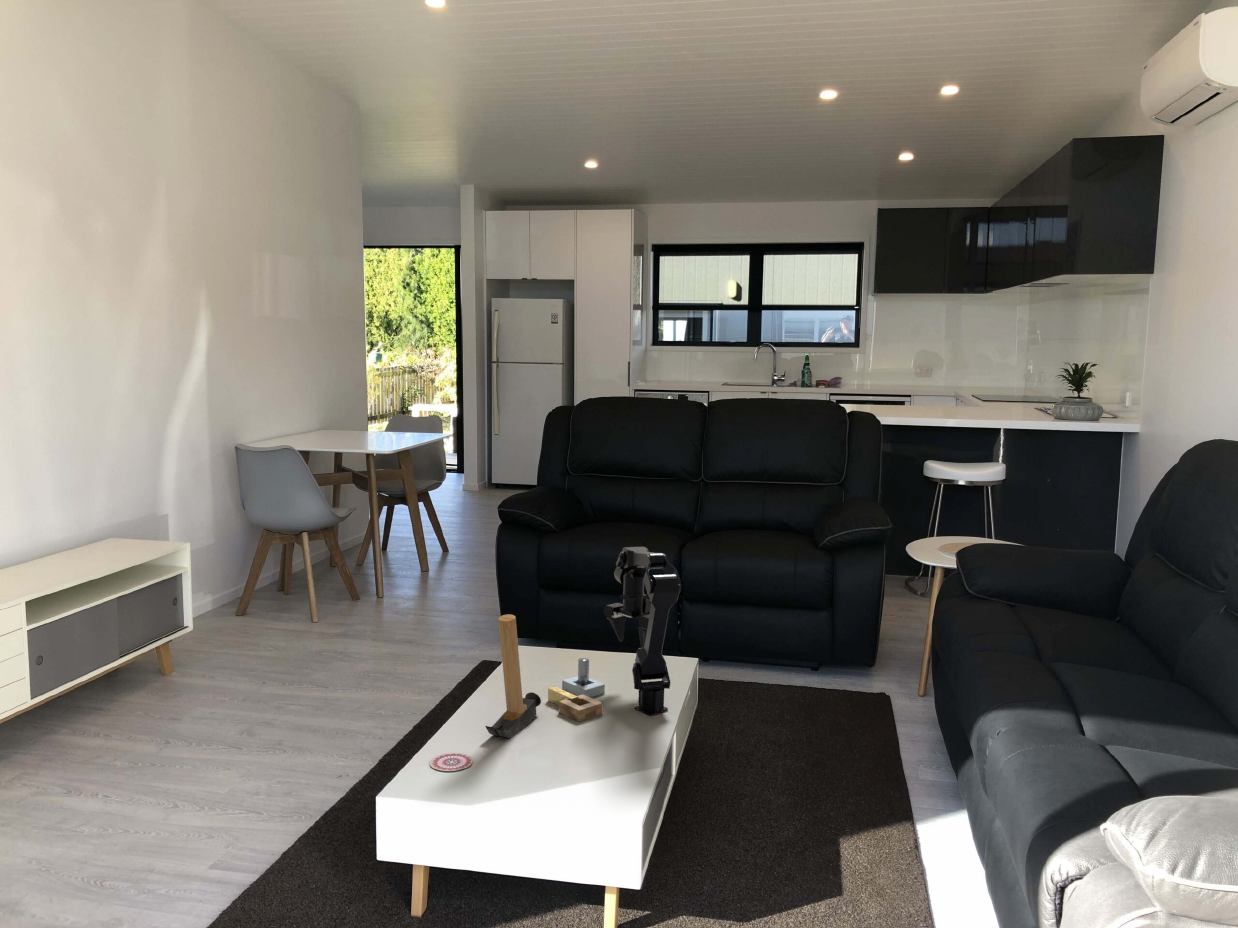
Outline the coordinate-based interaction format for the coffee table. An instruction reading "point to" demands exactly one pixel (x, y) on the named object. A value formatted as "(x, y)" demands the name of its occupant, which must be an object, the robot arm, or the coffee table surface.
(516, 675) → the hammer
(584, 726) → the coffee table surface
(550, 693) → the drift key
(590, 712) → the socket block
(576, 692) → the light blue rectangular frame
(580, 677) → the peg
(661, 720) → the coffee table surface
